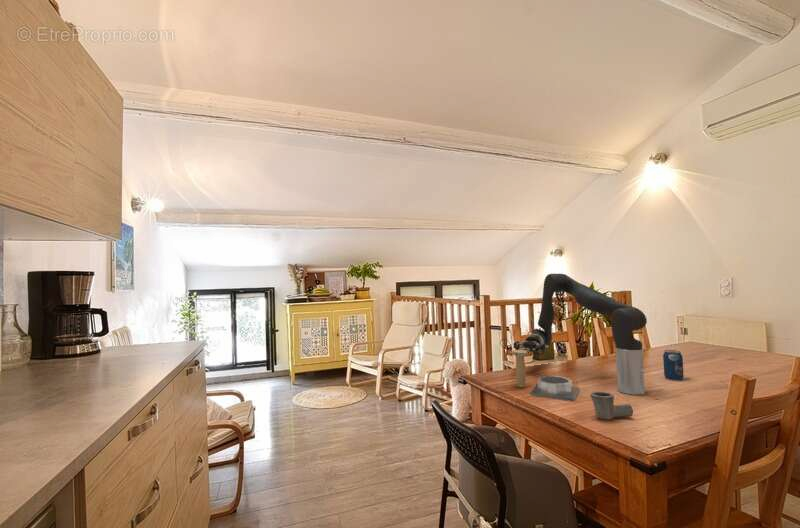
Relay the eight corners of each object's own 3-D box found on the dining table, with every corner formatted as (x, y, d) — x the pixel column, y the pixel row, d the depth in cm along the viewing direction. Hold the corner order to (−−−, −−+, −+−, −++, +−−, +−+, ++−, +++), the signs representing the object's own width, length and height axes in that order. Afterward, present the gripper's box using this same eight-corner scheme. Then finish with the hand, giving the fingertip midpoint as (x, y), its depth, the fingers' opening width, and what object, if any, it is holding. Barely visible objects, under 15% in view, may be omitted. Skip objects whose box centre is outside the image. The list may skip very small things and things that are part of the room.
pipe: (636, 421, 121) (635, 395, 121) (596, 422, 121) (595, 397, 121) (625, 414, 127) (624, 390, 127) (587, 415, 127) (586, 391, 127)
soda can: (681, 381, 160) (679, 353, 161) (662, 378, 166) (660, 351, 166) (685, 378, 165) (684, 351, 165) (667, 375, 170) (665, 349, 170)
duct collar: (579, 389, 154) (578, 377, 154) (574, 401, 141) (573, 387, 141) (538, 384, 163) (538, 373, 163) (530, 395, 149) (529, 382, 149)
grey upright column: (518, 383, 165) (516, 349, 165) (531, 387, 160) (529, 351, 160) (511, 386, 162) (509, 351, 162) (524, 389, 157) (523, 353, 157)
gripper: (519, 333, 189) (510, 339, 175) (549, 335, 182) (542, 341, 168) (519, 348, 189) (510, 355, 175) (549, 351, 182) (542, 358, 168)
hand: (526, 348), depth 172 cm, fingers open, 8 cm apart
